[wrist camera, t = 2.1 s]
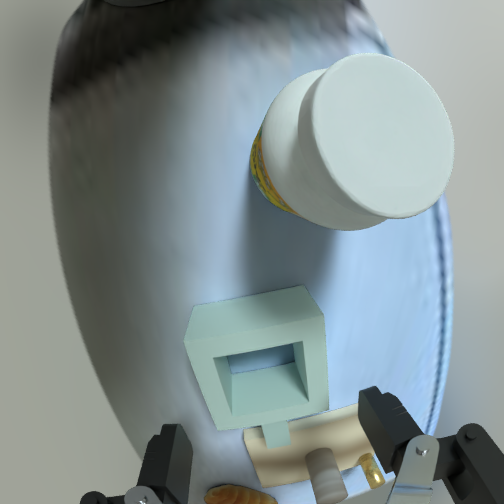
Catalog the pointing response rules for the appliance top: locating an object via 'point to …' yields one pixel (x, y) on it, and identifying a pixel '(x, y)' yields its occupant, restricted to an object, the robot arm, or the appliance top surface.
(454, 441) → the robot arm
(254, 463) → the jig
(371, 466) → the pin
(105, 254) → the appliance top surface
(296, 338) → the pale green hollow block
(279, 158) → the supplement bottle
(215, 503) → the pastry
